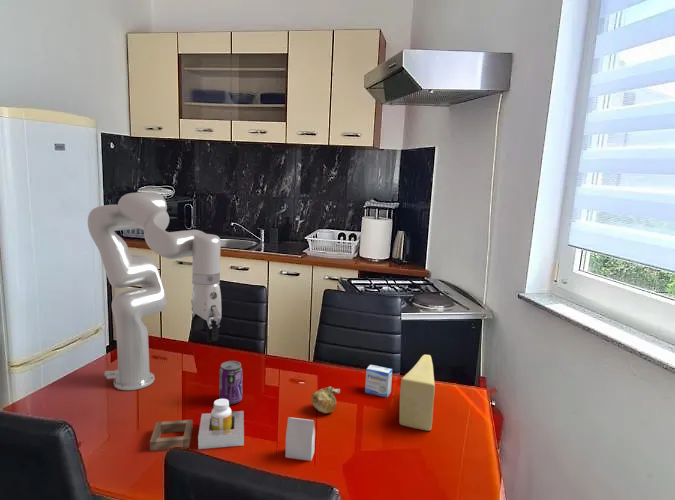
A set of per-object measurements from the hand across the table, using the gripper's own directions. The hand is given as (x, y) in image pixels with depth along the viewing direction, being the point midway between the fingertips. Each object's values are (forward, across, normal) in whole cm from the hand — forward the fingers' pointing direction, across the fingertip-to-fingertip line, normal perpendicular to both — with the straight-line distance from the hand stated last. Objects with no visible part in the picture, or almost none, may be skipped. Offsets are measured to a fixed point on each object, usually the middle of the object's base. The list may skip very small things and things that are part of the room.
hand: (205, 335), depth 133 cm
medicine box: (+23, -23, -51) cm, 61 cm away
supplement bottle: (+24, -14, +1) cm, 28 cm away
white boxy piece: (+23, -35, -10) cm, 43 cm away
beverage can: (+24, +1, -10) cm, 26 cm away
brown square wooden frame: (+24, -8, +13) cm, 29 cm away
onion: (+23, -21, -29) cm, 43 cm away
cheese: (+22, -39, -53) cm, 70 cm away
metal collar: (+24, -14, +1) cm, 28 cm away
